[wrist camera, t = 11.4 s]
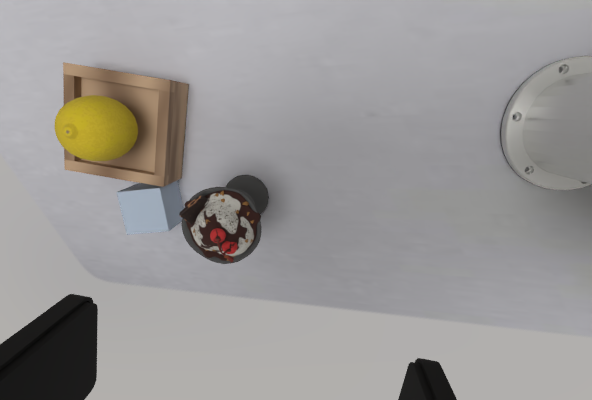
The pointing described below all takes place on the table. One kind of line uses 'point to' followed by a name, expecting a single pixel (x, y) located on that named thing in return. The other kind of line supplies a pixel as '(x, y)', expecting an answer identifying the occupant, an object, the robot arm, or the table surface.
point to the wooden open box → (150, 119)
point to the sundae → (226, 219)
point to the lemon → (96, 128)
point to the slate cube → (150, 207)
